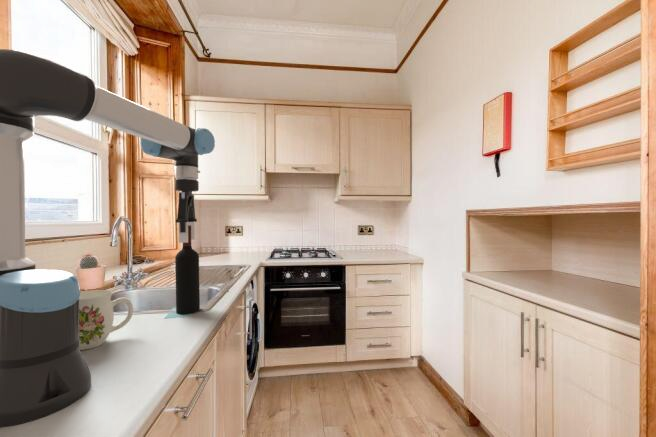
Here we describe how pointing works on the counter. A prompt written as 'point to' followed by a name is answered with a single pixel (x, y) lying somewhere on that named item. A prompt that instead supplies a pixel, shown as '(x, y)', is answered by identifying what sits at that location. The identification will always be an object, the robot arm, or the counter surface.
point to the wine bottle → (187, 279)
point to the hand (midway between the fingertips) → (187, 241)
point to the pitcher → (98, 317)
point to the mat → (174, 315)
